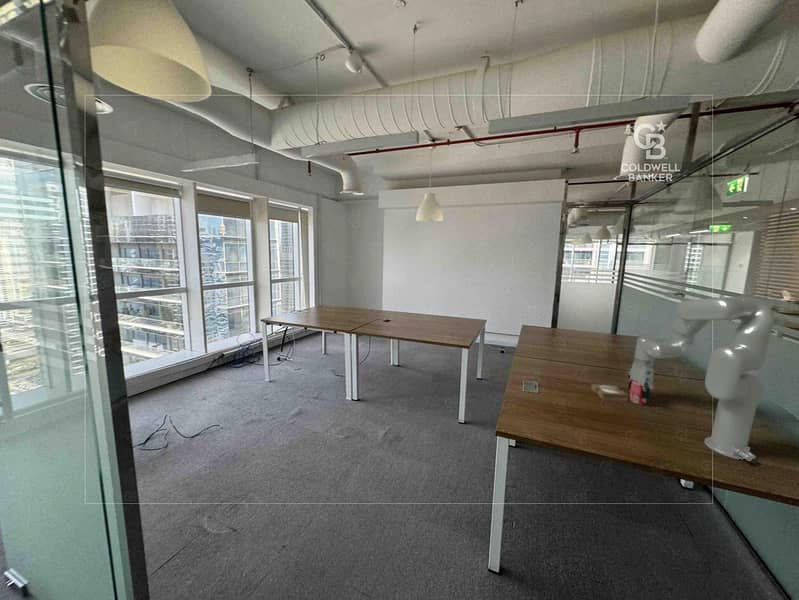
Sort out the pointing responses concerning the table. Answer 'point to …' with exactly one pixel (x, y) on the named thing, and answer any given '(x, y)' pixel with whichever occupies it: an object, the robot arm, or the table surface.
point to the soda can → (637, 393)
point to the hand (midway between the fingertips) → (638, 393)
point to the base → (609, 392)
